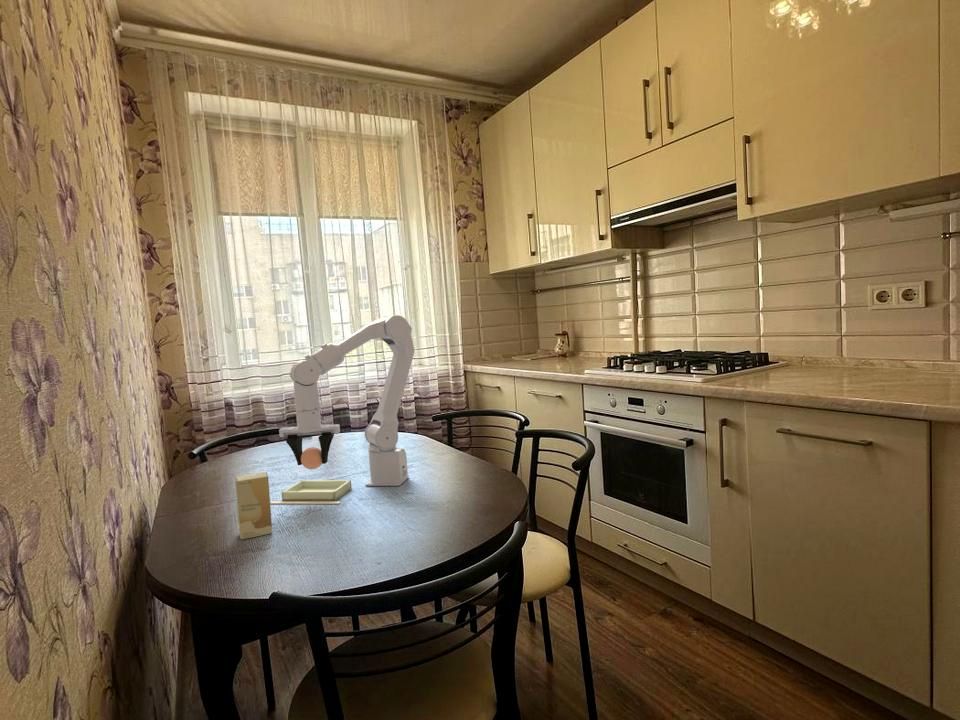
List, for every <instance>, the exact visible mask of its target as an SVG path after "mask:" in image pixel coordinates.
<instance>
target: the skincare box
mask: <svg viewBox="0 0 960 720" xmlns="http://www.w3.org/2000/svg"><path fill="white" fill-rule="evenodd" d="M234 479H235V491H236V504H237V517H238V519H237V520H238V521H237V522H238V531H239V538H240V540H246V539H250V538H255V537H261V536H265V535H269V534H270V533H271V534H272V533H273V525H272V511H271V504H270V502H271V498H270V497H271V496H270V494H271V493H270V485H269V484H270V483H269V482H270V481H269V475H268V471H264V472H258V473H251V474H250V473H249V474H245V475H238V476H235V477H234Z"/></svg>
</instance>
